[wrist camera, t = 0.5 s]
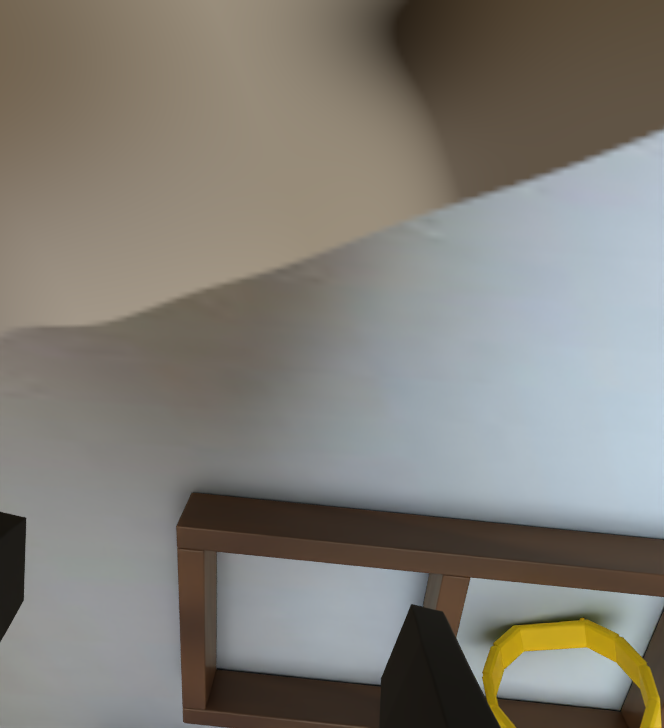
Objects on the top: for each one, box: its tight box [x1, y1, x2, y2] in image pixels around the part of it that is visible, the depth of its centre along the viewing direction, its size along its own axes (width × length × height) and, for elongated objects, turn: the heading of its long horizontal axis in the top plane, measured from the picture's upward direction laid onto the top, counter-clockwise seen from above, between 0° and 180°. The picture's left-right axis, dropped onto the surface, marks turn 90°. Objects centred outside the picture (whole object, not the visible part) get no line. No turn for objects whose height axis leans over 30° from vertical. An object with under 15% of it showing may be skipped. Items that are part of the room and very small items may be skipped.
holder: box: [176, 493, 664, 728], centre depth 23 cm, size 11×20×2 cm, turn 85°
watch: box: [482, 618, 661, 728], centre depth 21 cm, size 6×3×6 cm, turn 105°
